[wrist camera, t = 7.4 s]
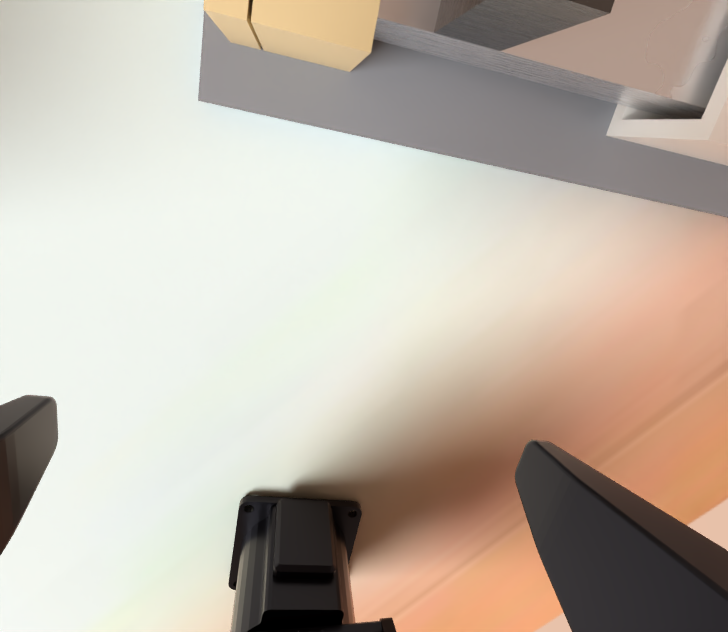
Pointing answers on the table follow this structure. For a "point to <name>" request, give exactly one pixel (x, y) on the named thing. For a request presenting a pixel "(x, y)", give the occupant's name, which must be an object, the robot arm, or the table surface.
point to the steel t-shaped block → (578, 45)
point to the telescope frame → (452, 103)
